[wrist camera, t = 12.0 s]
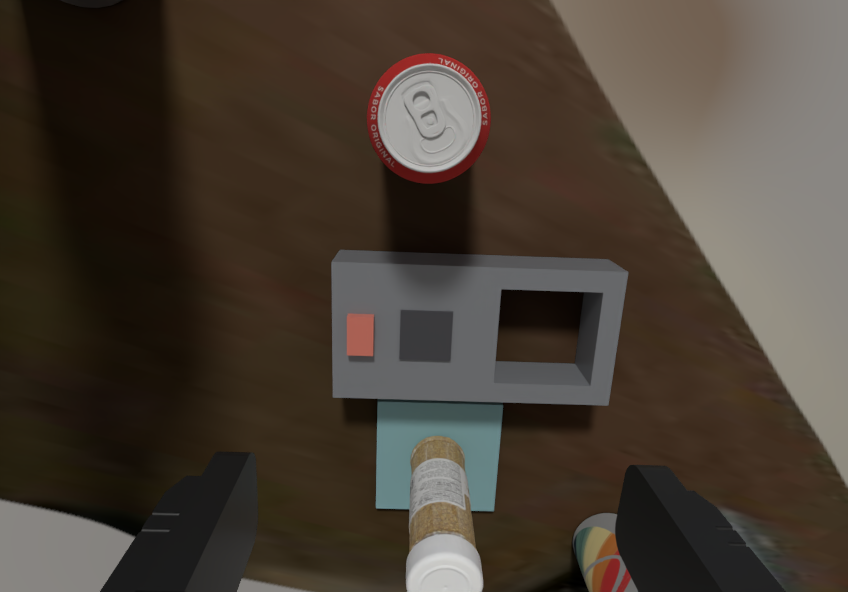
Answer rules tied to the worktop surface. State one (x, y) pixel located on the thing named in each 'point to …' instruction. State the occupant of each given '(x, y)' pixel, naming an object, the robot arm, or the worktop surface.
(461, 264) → the power strip
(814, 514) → the worktop surface
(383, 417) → the mat
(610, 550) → the lotion bottle
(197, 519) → the robot arm
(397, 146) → the beverage can
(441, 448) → the sprinkles bottle
